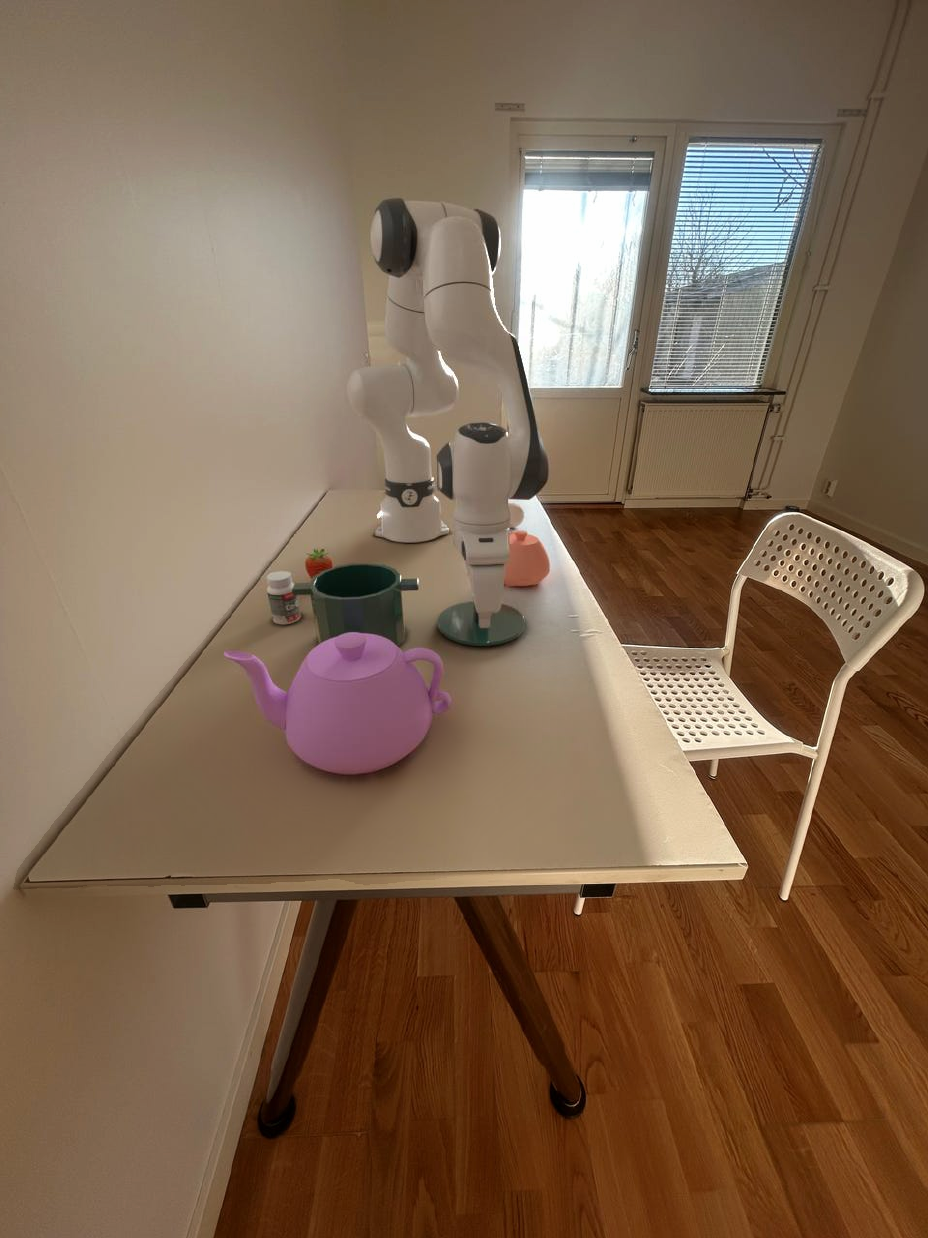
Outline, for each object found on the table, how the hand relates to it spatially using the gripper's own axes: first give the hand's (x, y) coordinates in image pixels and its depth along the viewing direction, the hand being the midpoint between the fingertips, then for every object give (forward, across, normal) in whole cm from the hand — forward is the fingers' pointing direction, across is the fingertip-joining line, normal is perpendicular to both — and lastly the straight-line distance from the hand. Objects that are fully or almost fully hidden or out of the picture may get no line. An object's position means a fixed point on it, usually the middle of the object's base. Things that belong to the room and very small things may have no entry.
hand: (480, 612), depth 87 cm
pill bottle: (+3, -6, -34) cm, 35 cm away
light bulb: (+3, -55, +14) cm, 57 cm away
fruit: (+3, -20, -30) cm, 36 cm away
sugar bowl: (+3, -20, +10) cm, 23 cm away
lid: (+2, 0, 0) cm, 2 cm away
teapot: (+3, +26, -19) cm, 32 cm away
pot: (+3, +2, -20) cm, 20 cm away
